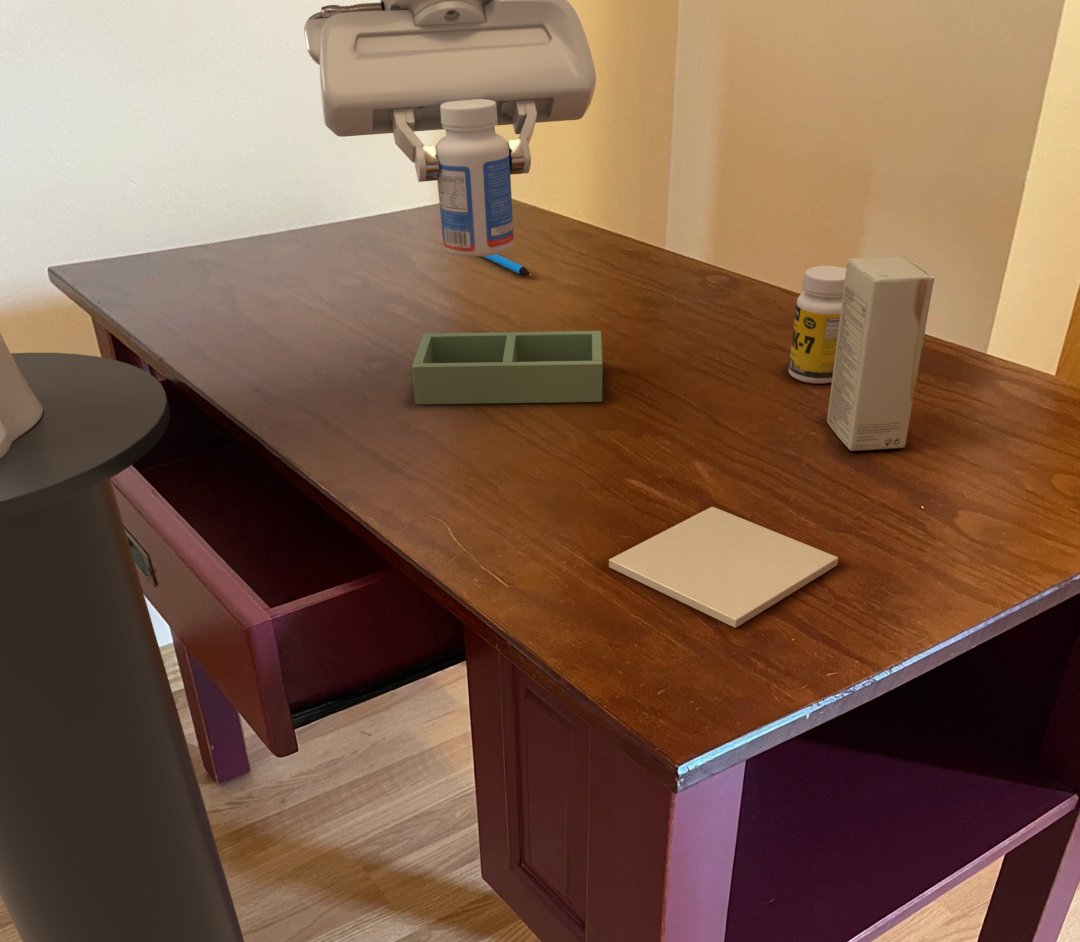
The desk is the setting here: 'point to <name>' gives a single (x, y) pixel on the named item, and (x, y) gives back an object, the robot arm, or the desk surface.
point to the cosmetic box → (878, 351)
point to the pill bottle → (474, 180)
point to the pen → (508, 264)
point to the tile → (723, 565)
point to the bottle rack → (508, 368)
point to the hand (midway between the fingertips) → (475, 172)
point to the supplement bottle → (817, 325)
